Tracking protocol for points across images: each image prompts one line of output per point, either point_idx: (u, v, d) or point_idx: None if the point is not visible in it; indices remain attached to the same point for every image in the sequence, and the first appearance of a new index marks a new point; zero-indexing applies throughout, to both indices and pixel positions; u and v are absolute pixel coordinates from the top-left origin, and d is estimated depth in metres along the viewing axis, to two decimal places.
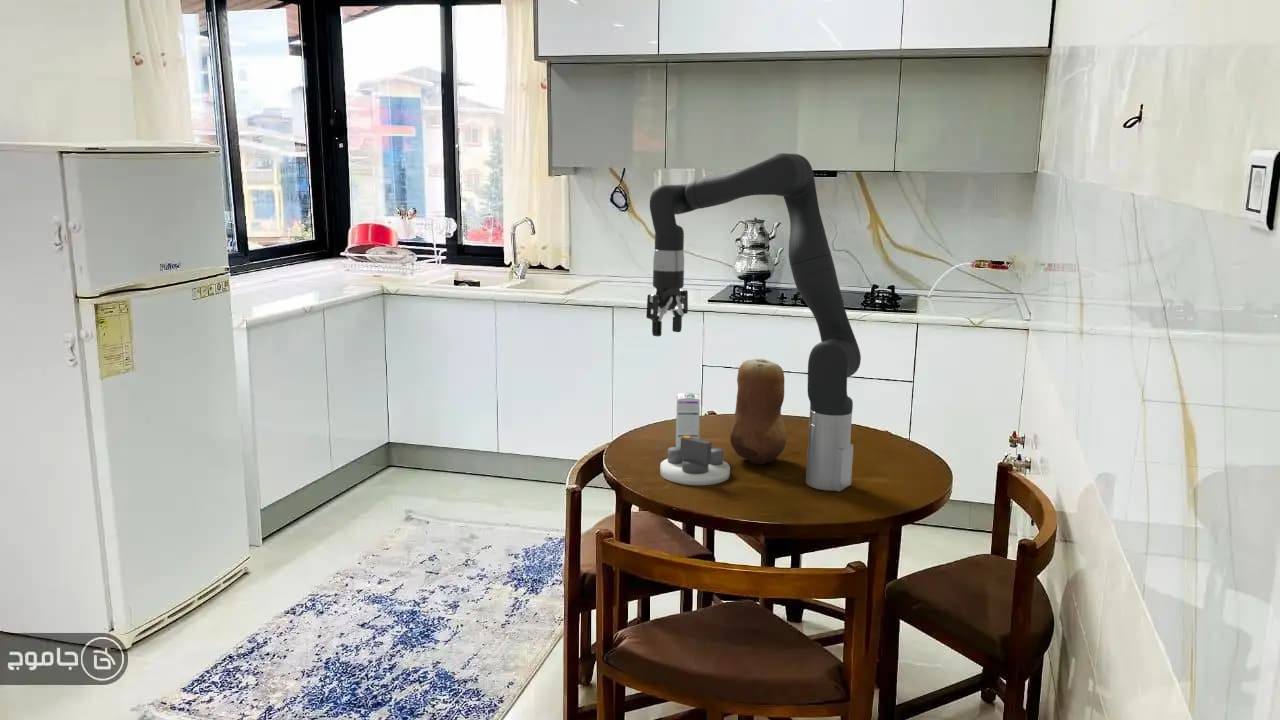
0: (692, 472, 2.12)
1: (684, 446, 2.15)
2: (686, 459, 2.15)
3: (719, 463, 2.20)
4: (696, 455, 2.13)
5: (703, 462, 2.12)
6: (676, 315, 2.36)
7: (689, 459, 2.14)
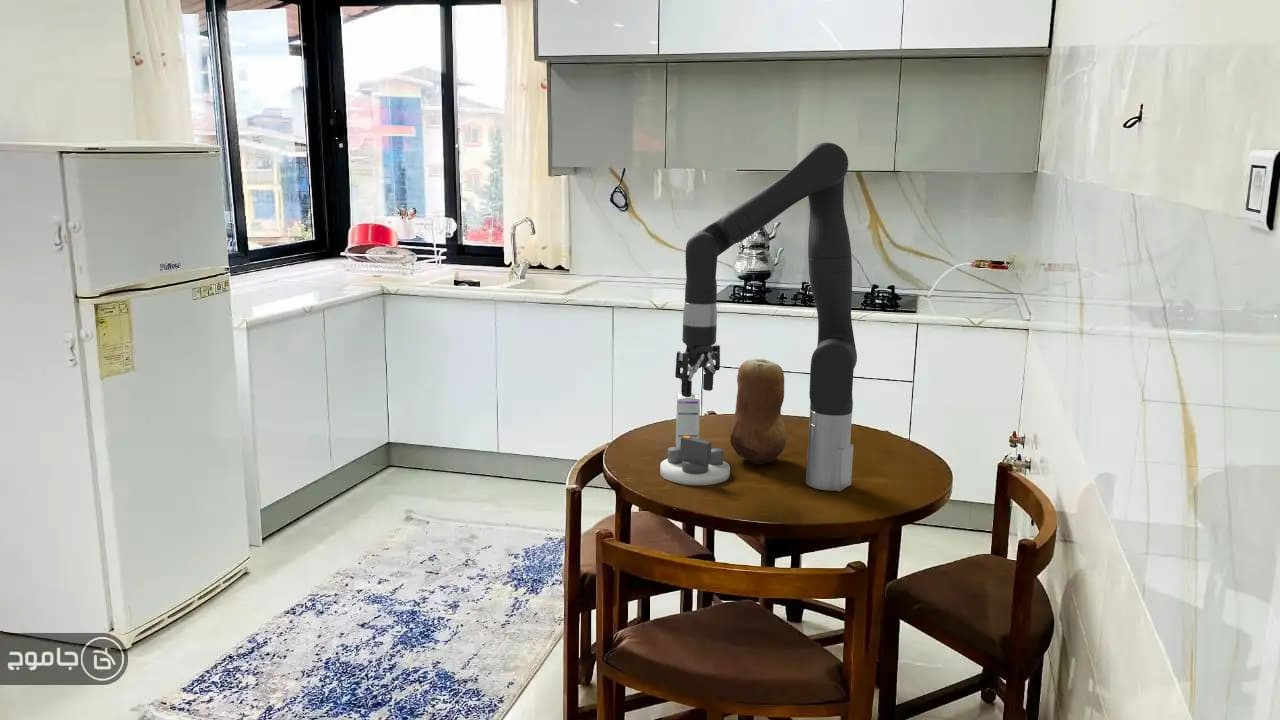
0: (692, 472, 2.12)
1: (684, 446, 2.15)
2: (686, 459, 2.15)
3: (719, 463, 2.20)
4: (696, 455, 2.13)
5: (703, 462, 2.12)
6: (707, 372, 2.16)
7: (689, 459, 2.14)
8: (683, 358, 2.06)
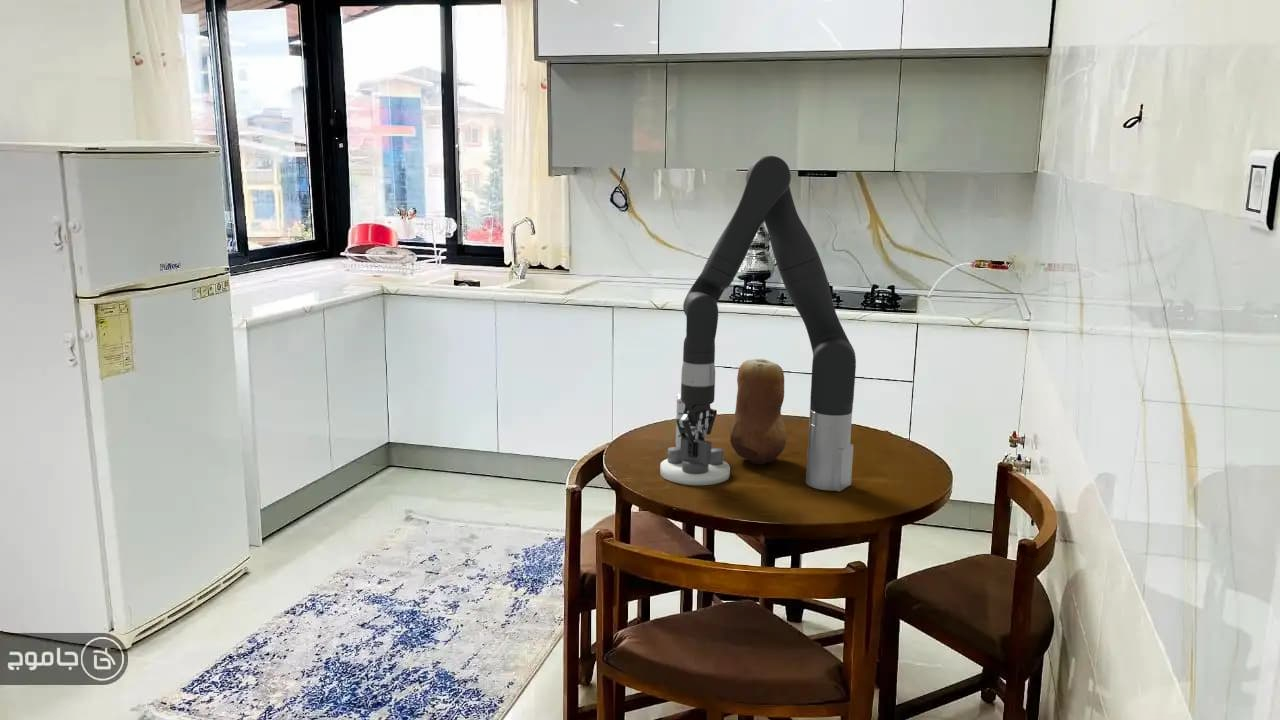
0: (692, 472, 2.12)
1: (684, 446, 2.15)
2: (686, 459, 2.15)
3: (719, 463, 2.20)
4: None
5: (703, 462, 2.12)
6: (698, 435, 2.15)
7: (689, 459, 2.14)
8: (684, 426, 2.08)
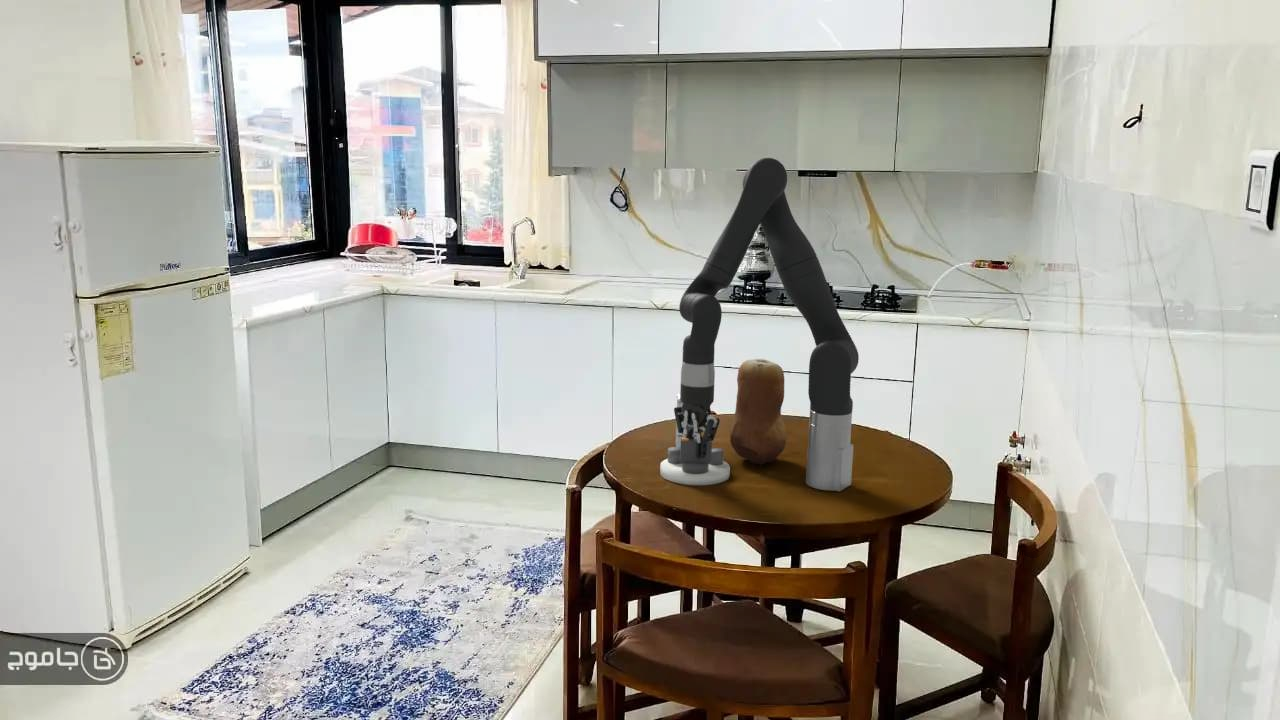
0: (700, 472, 2.12)
1: (685, 448, 2.13)
2: (687, 461, 2.14)
3: (719, 463, 2.20)
4: None
5: (708, 460, 2.14)
6: (690, 435, 2.15)
7: (691, 460, 2.14)
8: (716, 425, 2.08)
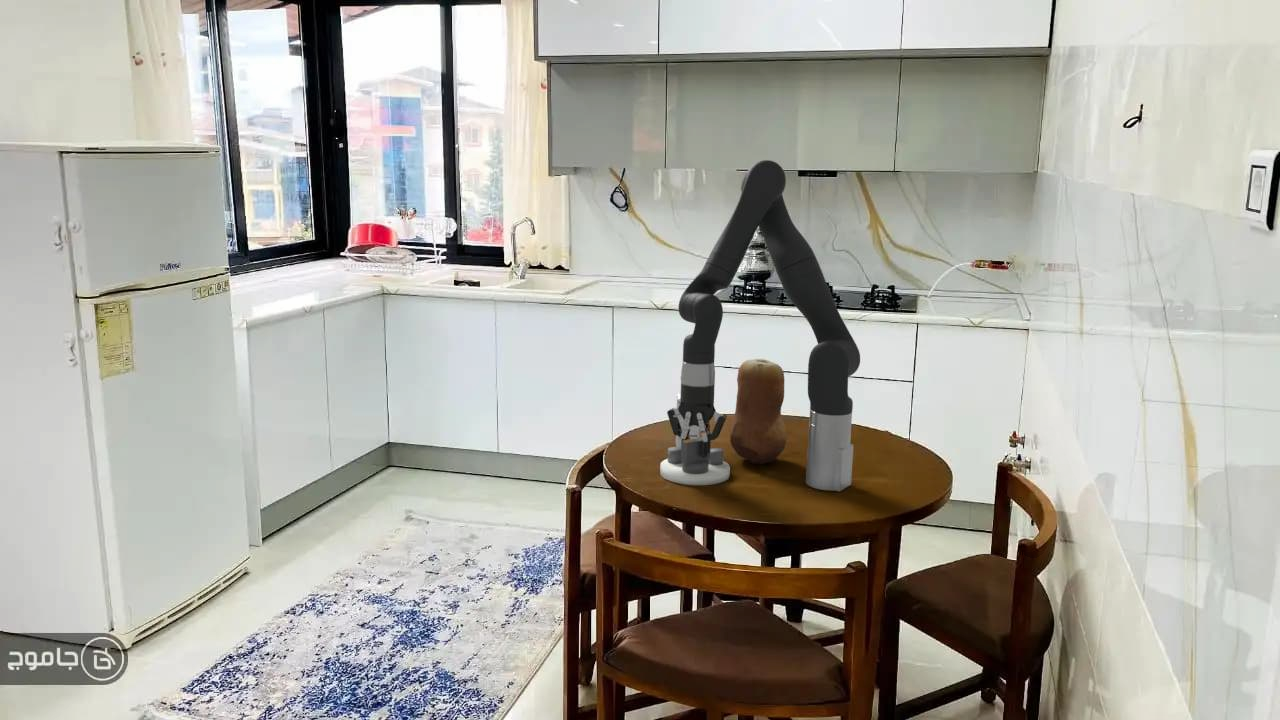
0: (706, 471, 2.13)
1: (690, 450, 2.12)
2: (692, 462, 2.13)
3: (719, 463, 2.20)
4: (701, 453, 2.14)
5: (707, 458, 2.15)
6: (687, 435, 2.14)
7: (695, 461, 2.13)
8: (724, 421, 2.11)
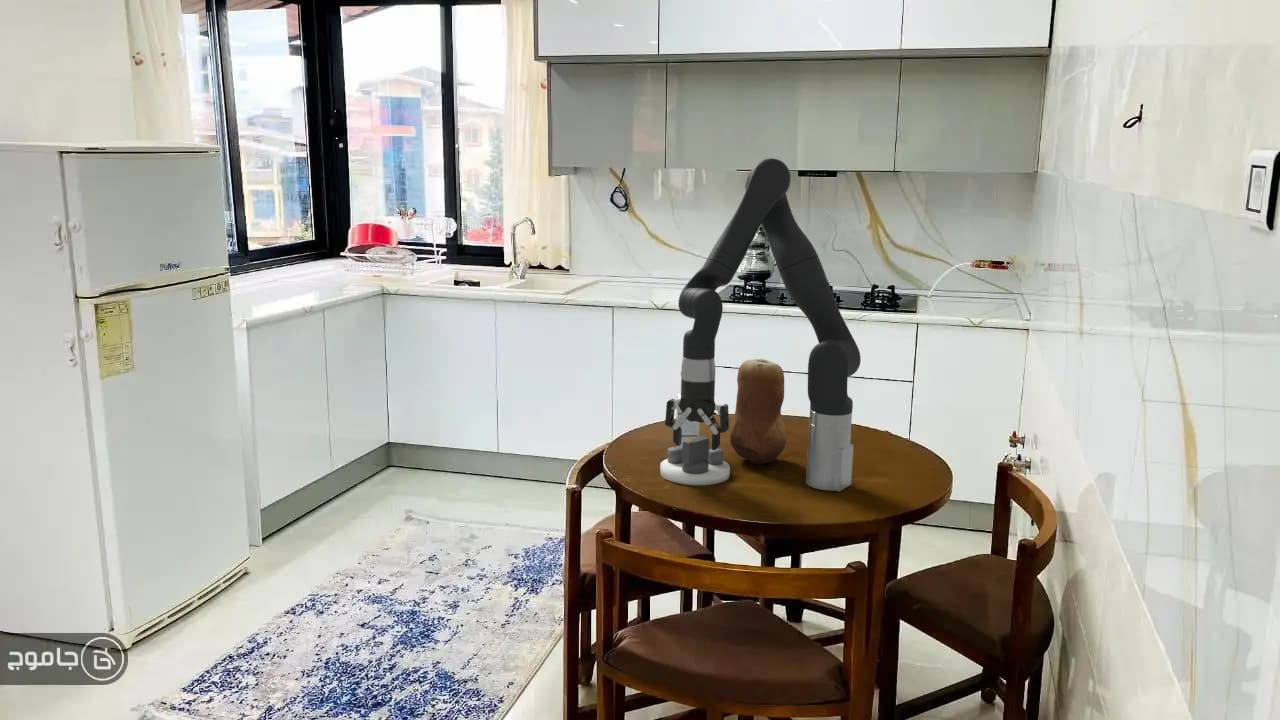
0: (707, 470, 2.14)
1: (692, 450, 2.12)
2: (693, 462, 2.13)
3: (719, 463, 2.20)
4: (701, 453, 2.14)
5: (706, 457, 2.16)
6: (679, 427, 2.14)
7: (696, 461, 2.13)
8: (727, 410, 2.10)
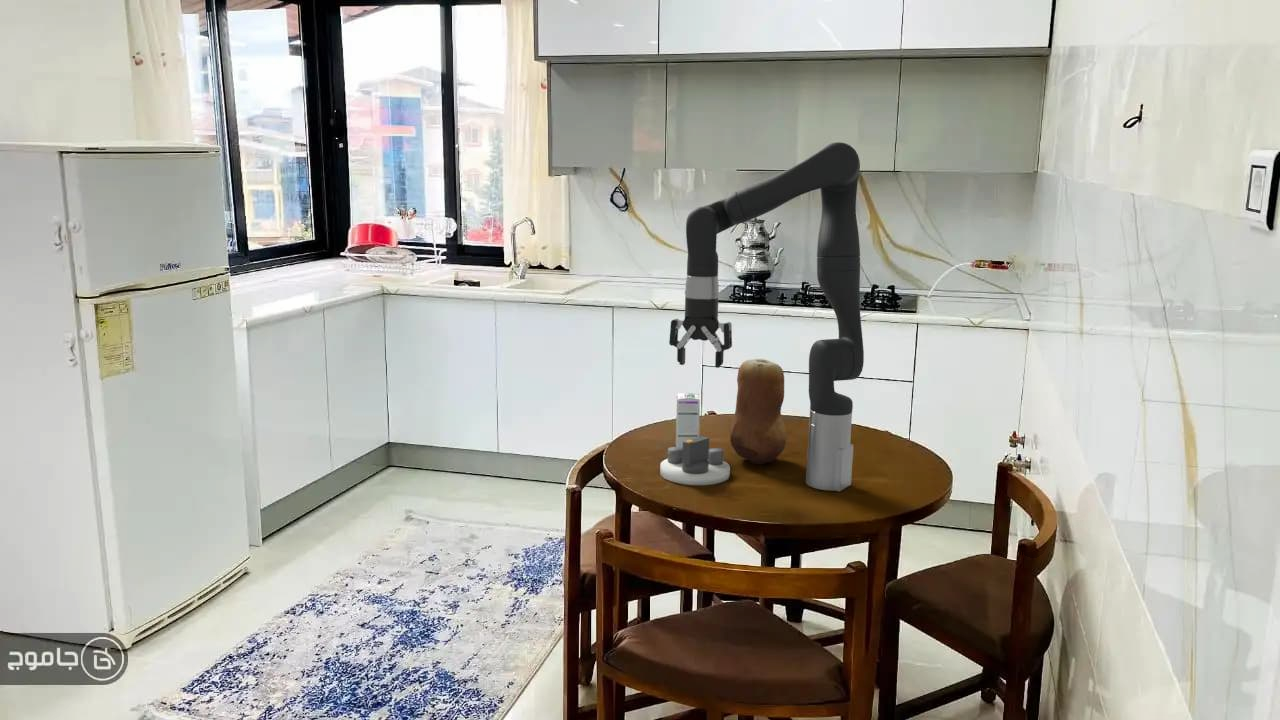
0: (707, 470, 2.14)
1: (692, 450, 2.12)
2: (694, 462, 2.13)
3: (719, 463, 2.20)
4: (701, 453, 2.14)
5: (706, 457, 2.16)
6: (683, 346, 2.18)
7: (696, 461, 2.13)
8: (730, 328, 2.14)
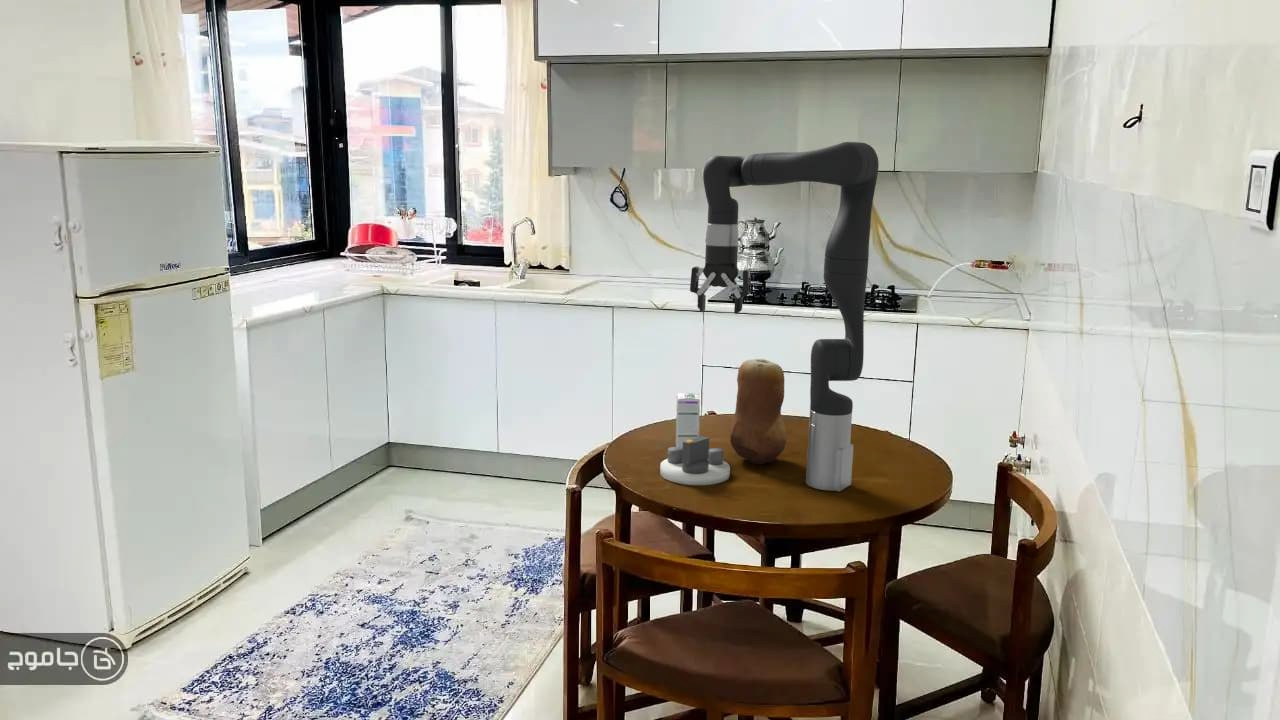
0: (707, 470, 2.14)
1: (692, 450, 2.12)
2: (694, 462, 2.13)
3: (719, 463, 2.20)
4: (701, 453, 2.14)
5: (706, 457, 2.16)
6: (703, 293, 2.24)
7: (696, 461, 2.13)
8: (750, 275, 2.20)
